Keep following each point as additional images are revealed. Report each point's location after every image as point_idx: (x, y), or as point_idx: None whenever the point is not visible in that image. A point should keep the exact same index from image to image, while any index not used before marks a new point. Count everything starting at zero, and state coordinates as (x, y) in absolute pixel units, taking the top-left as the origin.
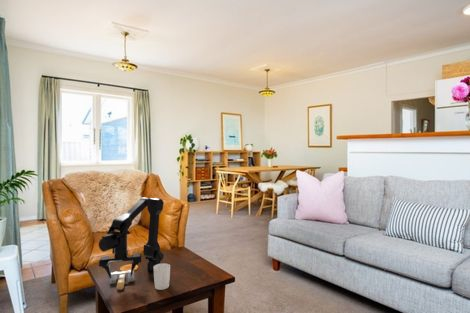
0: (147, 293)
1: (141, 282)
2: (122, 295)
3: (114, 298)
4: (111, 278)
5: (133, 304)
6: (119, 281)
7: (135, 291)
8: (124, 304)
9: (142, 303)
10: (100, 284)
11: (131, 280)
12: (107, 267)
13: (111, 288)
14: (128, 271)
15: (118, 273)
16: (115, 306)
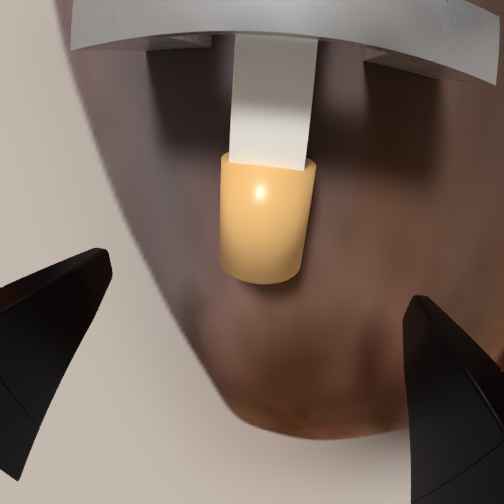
0: None
1: (496, 161)
2: (282, 339)
3: (224, 351)
4: (129, 45)
5: (331, 427)
6: (243, 227)
7: (393, 319)
8: (286, 416)
9: (374, 430)
10: (67, 54)
11: (410, 69)
12: (12, 462)
13: (174, 174)
14: (409, 7)
15: (202, 31)
16: (239, 413)
